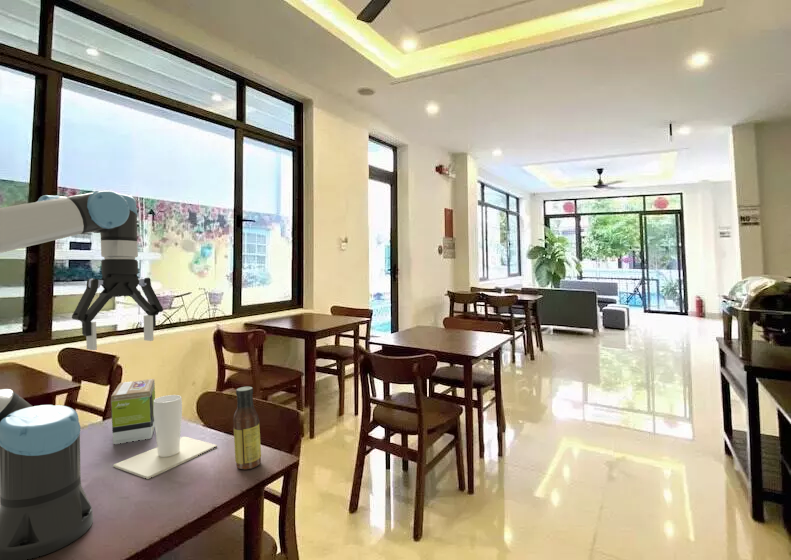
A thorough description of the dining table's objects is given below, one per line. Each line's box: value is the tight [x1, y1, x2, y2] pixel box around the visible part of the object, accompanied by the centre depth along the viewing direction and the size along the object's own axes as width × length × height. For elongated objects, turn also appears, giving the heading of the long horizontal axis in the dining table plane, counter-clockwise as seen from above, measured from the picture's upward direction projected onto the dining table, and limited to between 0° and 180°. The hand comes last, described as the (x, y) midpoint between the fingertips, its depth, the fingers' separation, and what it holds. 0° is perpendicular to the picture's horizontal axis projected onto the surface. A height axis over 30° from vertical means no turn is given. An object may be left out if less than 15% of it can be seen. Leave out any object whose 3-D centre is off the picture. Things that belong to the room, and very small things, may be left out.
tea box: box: [110, 378, 156, 445], centre depth 129 cm, size 15×10×15 cm, turn 25°
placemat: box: [112, 436, 218, 480], centre depth 113 cm, size 20×14×1 cm
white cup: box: [153, 394, 183, 457], centre depth 113 cm, size 7×7×15 cm
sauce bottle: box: [232, 386, 262, 471], centre depth 107 cm, size 6×6×20 cm
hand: (121, 344), depth 104 cm, fingers open, 13 cm apart
